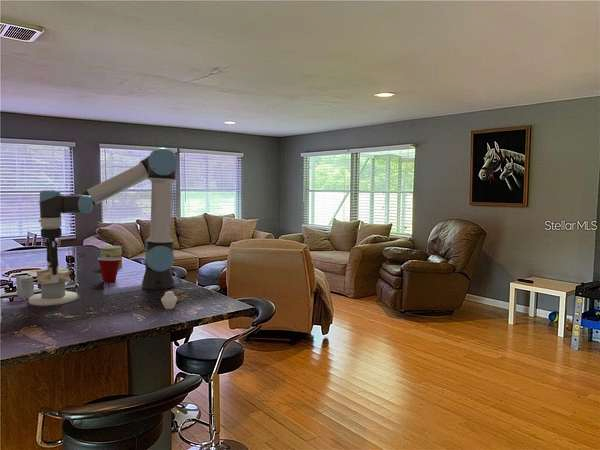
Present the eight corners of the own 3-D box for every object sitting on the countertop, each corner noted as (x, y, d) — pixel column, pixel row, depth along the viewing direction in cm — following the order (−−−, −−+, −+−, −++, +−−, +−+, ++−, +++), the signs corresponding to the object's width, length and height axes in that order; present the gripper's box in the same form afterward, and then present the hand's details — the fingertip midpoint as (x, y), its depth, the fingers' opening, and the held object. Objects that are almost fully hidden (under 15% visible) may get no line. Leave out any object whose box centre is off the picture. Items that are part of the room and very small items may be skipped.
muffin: (178, 305, 182) (177, 288, 181) (176, 309, 176) (176, 292, 175) (162, 306, 181) (162, 289, 180) (160, 310, 175) (159, 292, 174)
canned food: (96, 268, 254) (96, 248, 252) (108, 265, 265) (108, 245, 264) (115, 269, 252) (114, 248, 251) (126, 266, 263) (125, 246, 262)
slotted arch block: (66, 276, 194) (65, 267, 194) (69, 281, 185) (69, 272, 185) (37, 279, 188) (36, 270, 187) (39, 284, 179) (38, 274, 178)
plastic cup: (126, 280, 224) (125, 257, 223) (106, 284, 215) (106, 260, 214) (112, 278, 230) (112, 255, 229) (93, 281, 221) (92, 258, 220)
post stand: (74, 292, 199) (73, 261, 198) (80, 301, 185) (79, 268, 183) (27, 297, 189) (25, 265, 188) (30, 308, 175) (28, 272, 173)
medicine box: (34, 297, 190) (33, 277, 189) (22, 299, 187) (21, 279, 186) (28, 294, 196) (27, 274, 195) (16, 296, 192) (15, 276, 192)
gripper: (38, 225, 192) (40, 275, 194) (43, 230, 172) (45, 286, 175) (57, 224, 196) (59, 274, 198) (65, 230, 177) (66, 284, 179)
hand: (53, 279), depth 186 cm, fingers closed on slotted arch block, 11 cm apart
